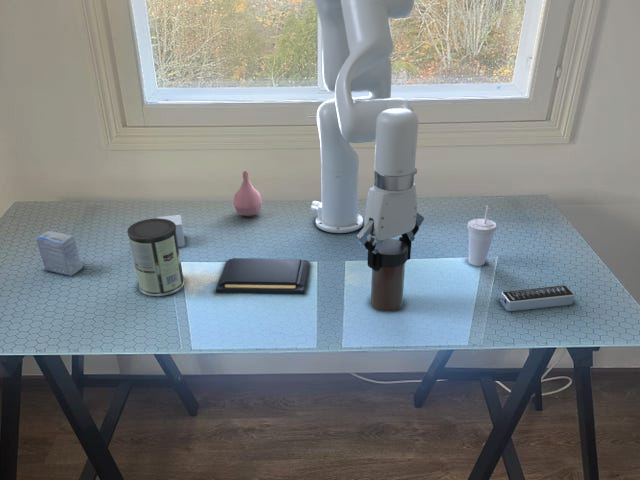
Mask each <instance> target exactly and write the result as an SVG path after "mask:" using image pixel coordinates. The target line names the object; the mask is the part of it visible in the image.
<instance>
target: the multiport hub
mask: <svg viewBox="0 0 640 480" xmlns="http://www.w3.org/2000/svg"><path fill="white" fill-rule="evenodd" d="M575 296H576V294H575V293H574V292H573V291H572V289H570V288H569V287H568V286H567V285H565V284H563V285H561V284H560V285H553V286H552V285H551V286H544V287H534V288H524V289H516V290H507V291H501V294H500V301H499V303H500V304H501V305H502V306H503V307H504V309H505V310H506V311H507V312H516V311H517V312H518V311H525V310H534V309H535V310H536V309H545V308H553V307H562V306H571V305H573V303H574V300H575V299H574V298H575Z"/></svg>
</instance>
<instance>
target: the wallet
mask: <svg viewBox="0 0 640 480" xmlns="http://www.w3.org/2000/svg"><path fill="white" fill-rule="evenodd" d="M309 269H310V262H309V260H308V259H301V258H264V257H263V258H261V257H259V258H258V257H257V258H254V257H253V258H251V257H250V258H249V257H233V258H230V259H228V260H226V261H225V263H224V266H223V270H222V272H221V275H220V278H219V280H218V283H217V286H216V289H215V292H216V293H220V294H221V293H225V294H283V295H284V294H286V295H288V294H293V295H304V294H305V289H306V286H307V280H308V274H309Z"/></svg>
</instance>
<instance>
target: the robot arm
mask: <svg viewBox="0 0 640 480" xmlns="http://www.w3.org/2000/svg"><path fill="white" fill-rule="evenodd" d="M313 1H314V5H315V9H316V12H317V14H318V15H317V16H318V17H319V21H320V25H321V53H322V54H321V55H322V56H321V57H322V60H321V61H322V81H323V86H324V88H325V89H326V90H327V91H328V92H330V93H334V98H332V99H328V100H325V101H324V102H322V103H321V104H320V105H319V107H318V108H317V111H316V123H317V128H318V129H317V130H318V136H319V142H320V143H319V145H320V169H321V170H320V184H321V185H320V186H321V187H320V188H321V190H320V191H321V192H320V193H321V195H320V197H321V199H320V200H321V201H317V200H313V201H312V203H311V206H310V211H311V212H314V213H317V216H316V218H315V225H316V227H317V228H318V229H319V230H321V231H324V232H327V233H332V234H346V233H352V232H355V231H358V230H359V229H361V228H362V229H361V230H360V231H359V232H358V233H357V235H356V237H355V238H356V240H357V241H358V243H360V244H361V246H362V247H363V248H364V249H365V250H367V257H366V258H367V259H366V260H367V261H366V263H367V267H369V268H370V269H371V270H372V269H373V270H375V271H379V269H380V253H379V252H378V250H379V248H380V246H381V244H382V242H383V240H386V239H394V238H395V237H398V236H399V237H398V240H400V241H402V242H404V243H406V244H407V245H408V259H407V261H409V260H411V253H412V242H414V241H415V240H416V239H415V236H416V234H417V233H418V232H419V230H420V227H421V225H422V223H423V222H424V220H425V217H424V216H423V215H422V214H420V213H418V201H417V200H418V198H417V188H416V184H415V175H417V173H418V168H417V167H416V159H417V157H416V156H417V148H418V147H417V146H418V145H417V144H418V134H419V116H418V114H417V113H416V112H415V111H414V108H413V106H412V105H411V103H410V101H408V100H407V99H405V98H402V97H391V96H392V77H393V76H392V75H393V72H392V62H391V57H390V56H391V55H392V53H393V51H394V39H393V33H392V29H391V23H390V19H403V18H406V17H408V16H410V14H411V13H412V11H413V9H414V6H415V2H416V0H313ZM363 92H368V93H369V95H367V96H356V97H354V96H353V95H352V93H363ZM372 142H373V143H374V142H375V144H374V145H375V146H374V148H375V149H374V171H373V185H372V186H370V188H369V190H368V193H367V198H366V204H365V211H364V217H363V216H362V215H361V214H360V213H358V212H359V181H360V180H359V178H360V177H359V176H360V175H359V173H360V156H359V154H358V152H357V150H356V149H355V148H354V146H353V145H351V144H363V143H372ZM374 242H375V245H374V246H373V245H372V244H373V243H374Z"/></svg>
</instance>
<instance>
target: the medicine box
mask: <svg viewBox="0 0 640 480" xmlns="http://www.w3.org/2000/svg"><path fill="white" fill-rule="evenodd" d="M35 240H36V243H37V247H38V250H39V254H40V257H41V260H42V264H43V266H45V267H44V270H45V271H47V272H52V273H57V274H60V275H65V276H69V277H72V276H74V275H75V274H76V273H78V272H79V271H81V270H82V269H83V264H82V260H81V257H80V253H79V249H78V245H77V241H76V238H75V236H74V235H71V234H67V233H62V232H58V231H52V230H47V231H45V232H43V233H42V234H40V235H39V236H37V237H36V238H35ZM46 267H48V268H46ZM50 268H52V269H50ZM54 269H56V270H54ZM59 270H60V271H59ZM63 271H64V272H63Z"/></svg>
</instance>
